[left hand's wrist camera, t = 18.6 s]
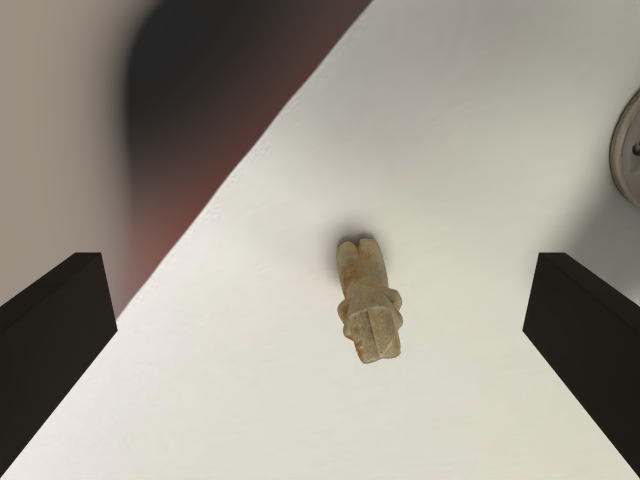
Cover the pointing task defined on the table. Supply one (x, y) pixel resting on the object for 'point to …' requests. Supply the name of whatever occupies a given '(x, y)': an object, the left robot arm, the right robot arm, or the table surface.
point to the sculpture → (368, 302)
